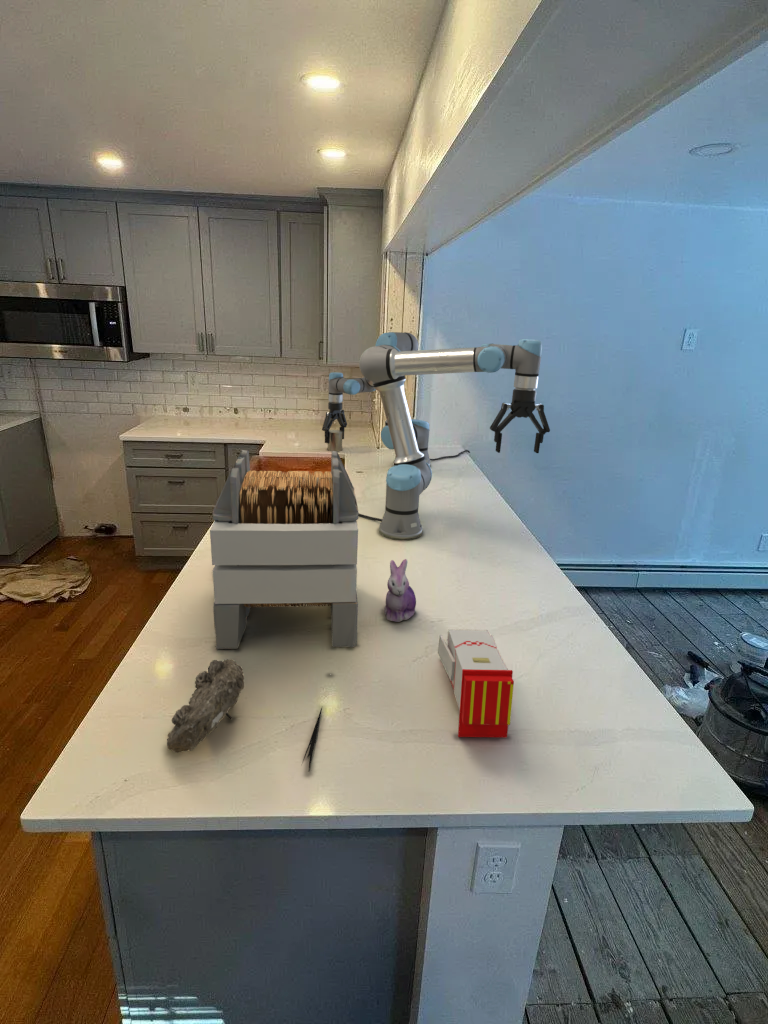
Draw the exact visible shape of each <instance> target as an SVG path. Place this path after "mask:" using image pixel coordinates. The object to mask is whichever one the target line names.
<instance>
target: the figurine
mask: <svg viewBox="0 0 768 1024" xmlns="http://www.w3.org/2000/svg"><path fill="white" fill-rule="evenodd" d="M407 567H408V559H406V558H404V559H403V560H402V561H401V563H400V565H399V566H398V565H397V563H396V562H395V561H394V560H393V559H391V560H390V561H389V570H390V576H389V578H388V579H387V589H388V591H387V592H386V594H385V595H386V596H385V607H384V615H385V616H386V620H387V621H391V622H395V623H400V622H402V621H406V620H409V619H410V618H411V617H413V616H414V615H415V610H416V606H417V597H416V593H415V591H414V590H413V587H411V586H410V582H409V579H408V577H407V574H406V571H407Z"/></svg>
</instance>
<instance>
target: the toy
mask: <svg viewBox="0 0 768 1024" xmlns="http://www.w3.org/2000/svg"><path fill="white" fill-rule="evenodd" d="M446 640H447V643H446V641H445V639H444V636H443V635H442V634H439V637H438V646H437V656H438V657H439V659H440V661H441V663H442V666H443V668H444V670H445V672H446V674H447V677H448V679H449V681H450V684H451V687H452V690H453V693H454V697H455V701H456V705H457V708H458V711H459V714H458V715H459V716H458V730H457V731H458V732H457V737H458V738H508V731H509V726H510V725H511V717H512V707H513V697H514V696H513V695H514V684H515V680H514V679H513V673H514V671H513V670H512V669H508V667H507V665H506V662H505V661H504V659H503V658H502V655H501V653H500V651H499V649H498V647H497V643H496V639H495V637H494V635H493V634H491V632H490V631H489V629H467V628H466V629H465V628H463V629H461V628H460V629H459V628H448V630H447V639H446Z"/></svg>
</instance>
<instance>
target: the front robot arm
mask: <svg viewBox="0 0 768 1024" xmlns="http://www.w3.org/2000/svg"><path fill="white" fill-rule="evenodd" d="M542 351H543V342H542V341H541V340H538V339H526V338H525V339H523V338H522V339H519V340H518V343H517V344H516V345H515V344H513V345H512V344H499V343H483V344H481V346H476V347H475V346H474V347H458V348H457V347H455V348H439V349H423V350H422V349H421V350H419V349H418V351H402V352H401V351H400V350H399V349H398V348H396V347H395V346H392V345H386V344H385V345H380V346H376V345H374V346H370V347H368V348H366V349H365V350H364V351H363V352H362V353H361V355H360V357H359V362H358V364H359V365H358V368H359V370H360V373H361V375H362V376H363V378H364V377H365V378H366V379H368V380H370V381H372V382H373V386H374V389H376V390H375V391H378V392H379V396H380V399H381V404H382V407H383V412H384V415H385V419H386V420H387V423H388V427H389V431H390V435H391V439H392V443H393V447H394V450H393V451H394V454H395V458H394V459H393V461H392V464H393V466H391V467H390V468H389V469H388V470H387V471H386V472H387V473H386V476H385V477H386V478H385V483H386V484H385V504H384V505H385V507H384V508H385V509H384V513H383V515H382V518H378V517H373V516H369V515H365V514H363V513H359V516H358V517H361V518H364V519H367V520H372V521H376V522H379V525H378V533H379V534H380V535H381V536H382V537H385V538H387V539H389V540H395V541H410V540H415V539H418V538H420V537H421V536H422V535H423V525H422V524H421V518H420V515H419V507H420V506H419V505H420V496H421V494H422V493H423V492H425V490H426V489H427V488H428V487H429V486H430V484H431V481H432V479H433V471H432V468H431V465H430V466H429V464H428V463H427V462H426V460H425V456H424V454H423V453H421V452H420V451H419V449H418V445H417V441H416V437H415V433H414V429H413V425H412V421H411V419H412V417H411V413H410V409H409V406H408V401H407V398H406V397H407V396H406V393H405V387H404V388H403V384H404V385H405V382H406V380H407V379H406V376H421V375H445V374H463V373H464V374H465V373H487V374H490V373H497V372H498V371H500V370H501V369H503V370H515V371H514V380H513V389H512V395H511V403H506V402H502V403H501V406H500V409H499V411H498V413H497V414H496V417H495V418H494V420H493V421H492V423H491V425H490V426H489V430H490V431H492V432H494V438H493V441H494V443H496V444H495V452H497V453H498V454H500V453H501V448H502V439H503V432H502V431H503V430H504V429H505V428H506V427H507V426H508V425H509V424H510V423H511V422H512V420H514V419H515V418H518V419H519V418H525V419H527V418H528V419H530V421H531V423H532V424H533V426H534V427H535V428H536V430H537V432H535V439H534V447H533V452H534V453H536V454H539V453H540V448H541V447H540V446H541V444H543V442H544V435H546V434H547V433H550V431H551V429H550V426H549V422H548V420H547V419H548V418H547V416H546V413H545V405H544V404H542V403H538V404H536V400H537V399H536V398H537V390H536V389H538V385H539V384H538V383H539V375H540V368H541V361H542ZM509 409H510V412H509V413H508V414H507V416H506V417H505V418H504V416H505V415H506V413H507V411H508V410H509ZM535 410H536V411H537V413H538V416H539V419H540V422H541V424H540V422H539V421H538V419H537V417H536V415H535V414H534V413H533V412H534V411H535ZM503 418H504V419H503ZM386 420H385V421H386Z"/></svg>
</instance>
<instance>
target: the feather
mask: <svg viewBox="0 0 768 1024" xmlns="http://www.w3.org/2000/svg"><path fill="white" fill-rule="evenodd" d="M329 675H330V676H331V675H332V674H331V673H330V674H329ZM322 710H323V707H321V708H320V710H319V713H318V716H317V719H316V723H315V725H314V728H313V731H312V733H311V737H310V739H309V742H308V745H307V748H306V751H305V754H304V757H303V760H302V763H301V767H302V765H303V763H304V761H305V758H308V759H309V760H308V762H307V763H308V764H307V766H308V771H310V770H311V766H312V765H311V764H312V760H313V757H315V756H314V755H315V751H316V749H315V746H317V739H318V733H319V729H320V722H321V717H322V712H323V711H322ZM313 754H314V755H313ZM306 755H307V757H306Z"/></svg>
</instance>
